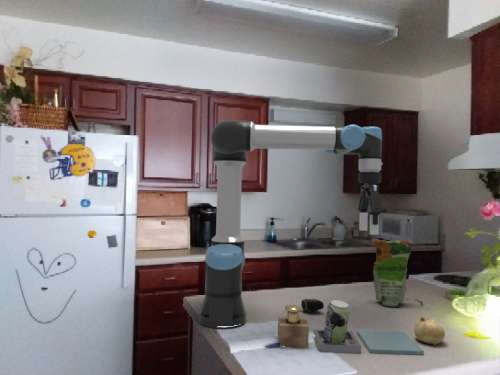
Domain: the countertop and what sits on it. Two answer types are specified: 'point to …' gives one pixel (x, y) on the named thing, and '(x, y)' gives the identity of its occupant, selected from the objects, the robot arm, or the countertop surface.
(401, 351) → the light blue square tile
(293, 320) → the plunger
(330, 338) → the beverage can
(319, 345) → the socket collar
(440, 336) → the onion
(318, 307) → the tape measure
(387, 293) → the pouch
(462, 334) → the countertop surface
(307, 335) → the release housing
